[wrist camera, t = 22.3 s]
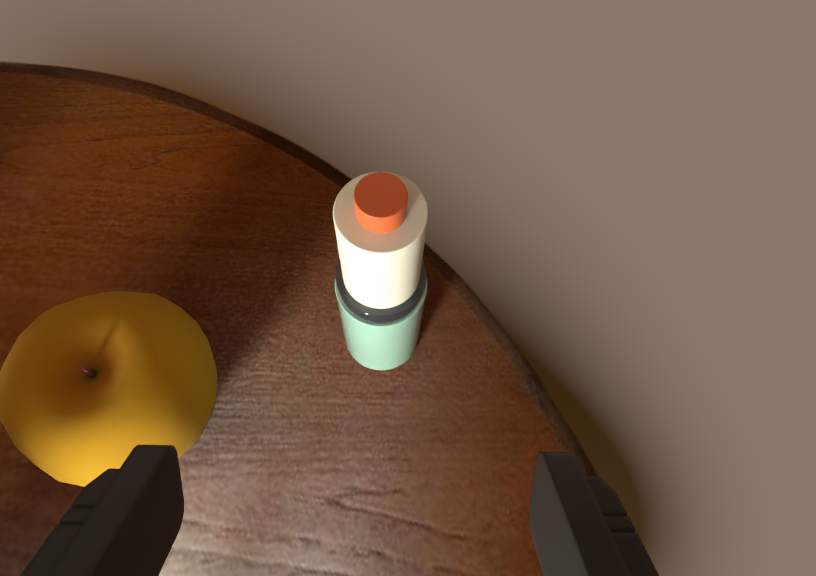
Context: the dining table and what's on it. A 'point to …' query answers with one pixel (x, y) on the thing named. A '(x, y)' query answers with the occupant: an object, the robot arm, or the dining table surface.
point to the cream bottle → (380, 237)
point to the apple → (106, 383)
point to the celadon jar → (381, 326)
